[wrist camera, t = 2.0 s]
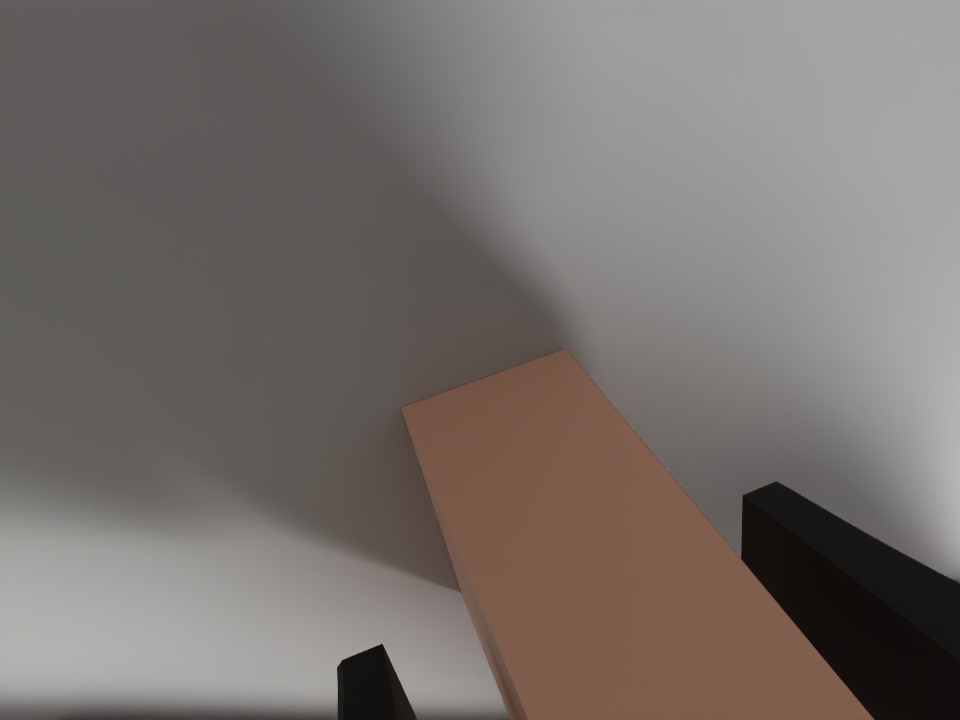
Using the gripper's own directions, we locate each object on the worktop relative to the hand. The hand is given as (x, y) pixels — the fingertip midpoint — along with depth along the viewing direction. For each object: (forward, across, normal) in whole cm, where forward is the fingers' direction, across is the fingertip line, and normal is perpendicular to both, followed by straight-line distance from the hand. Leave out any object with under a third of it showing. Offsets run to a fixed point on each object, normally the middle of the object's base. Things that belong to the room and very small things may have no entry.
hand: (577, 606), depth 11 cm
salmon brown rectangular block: (+3, 0, 0) cm, 3 cm away
